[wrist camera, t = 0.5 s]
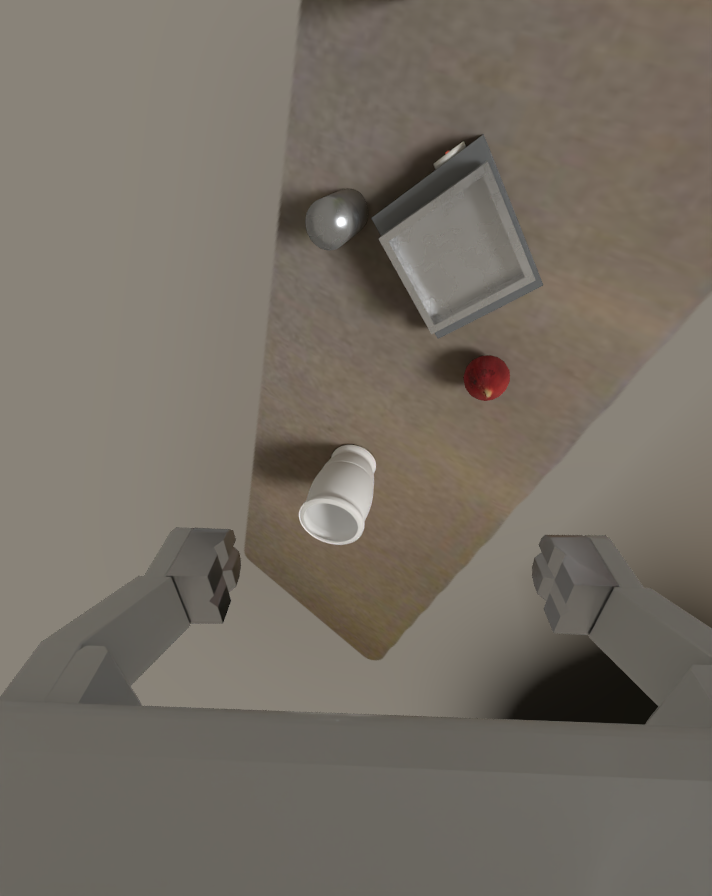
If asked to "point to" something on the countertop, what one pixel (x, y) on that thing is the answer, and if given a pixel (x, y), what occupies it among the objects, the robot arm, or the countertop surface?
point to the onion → (486, 377)
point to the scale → (435, 183)
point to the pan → (458, 251)
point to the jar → (340, 496)
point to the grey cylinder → (336, 218)
